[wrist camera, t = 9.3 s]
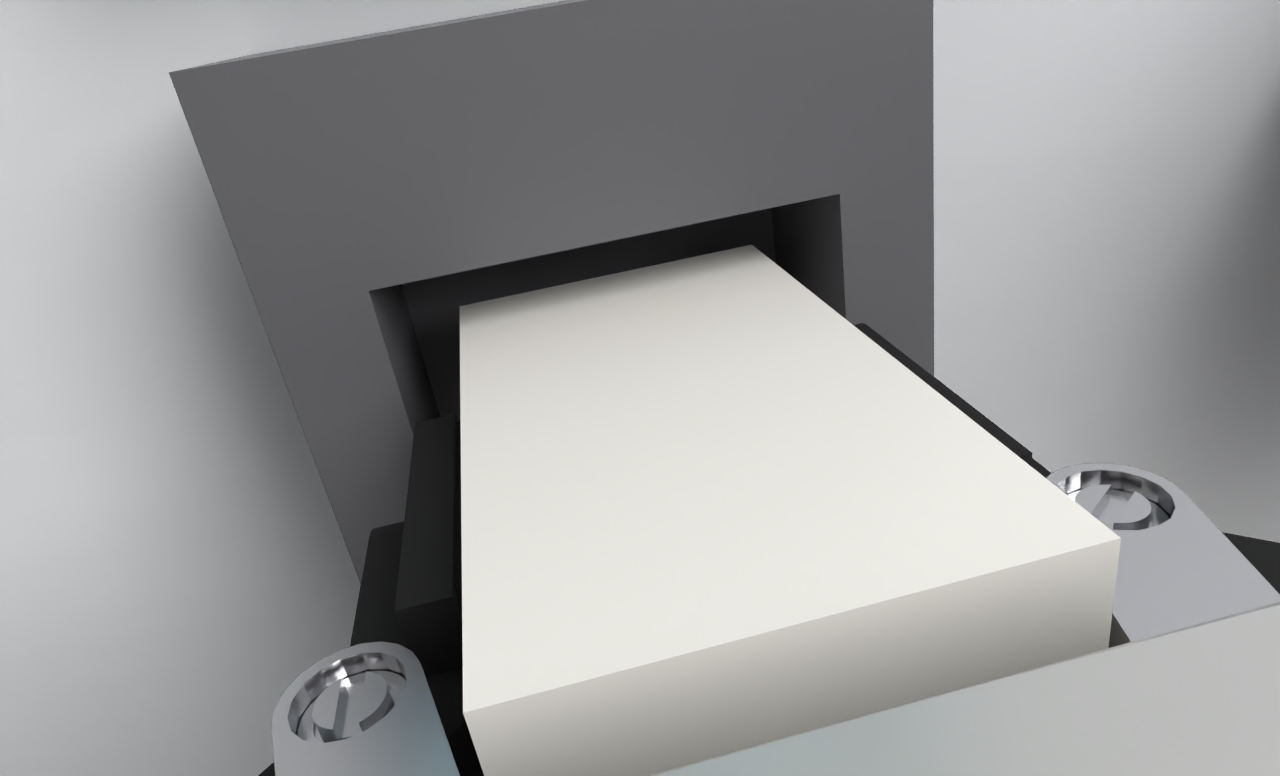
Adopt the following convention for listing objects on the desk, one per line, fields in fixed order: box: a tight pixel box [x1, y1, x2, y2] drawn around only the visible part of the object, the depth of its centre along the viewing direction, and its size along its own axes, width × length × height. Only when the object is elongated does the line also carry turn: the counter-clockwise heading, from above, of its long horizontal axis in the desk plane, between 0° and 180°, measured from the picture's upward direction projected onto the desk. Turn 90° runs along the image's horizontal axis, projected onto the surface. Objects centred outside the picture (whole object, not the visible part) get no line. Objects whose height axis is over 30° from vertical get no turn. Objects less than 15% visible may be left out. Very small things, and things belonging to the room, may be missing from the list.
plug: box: [460, 245, 1121, 776], centre depth 10 cm, size 4×4×8 cm
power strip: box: [169, 0, 934, 583], centre depth 16 cm, size 9×21×5 cm, turn 9°
